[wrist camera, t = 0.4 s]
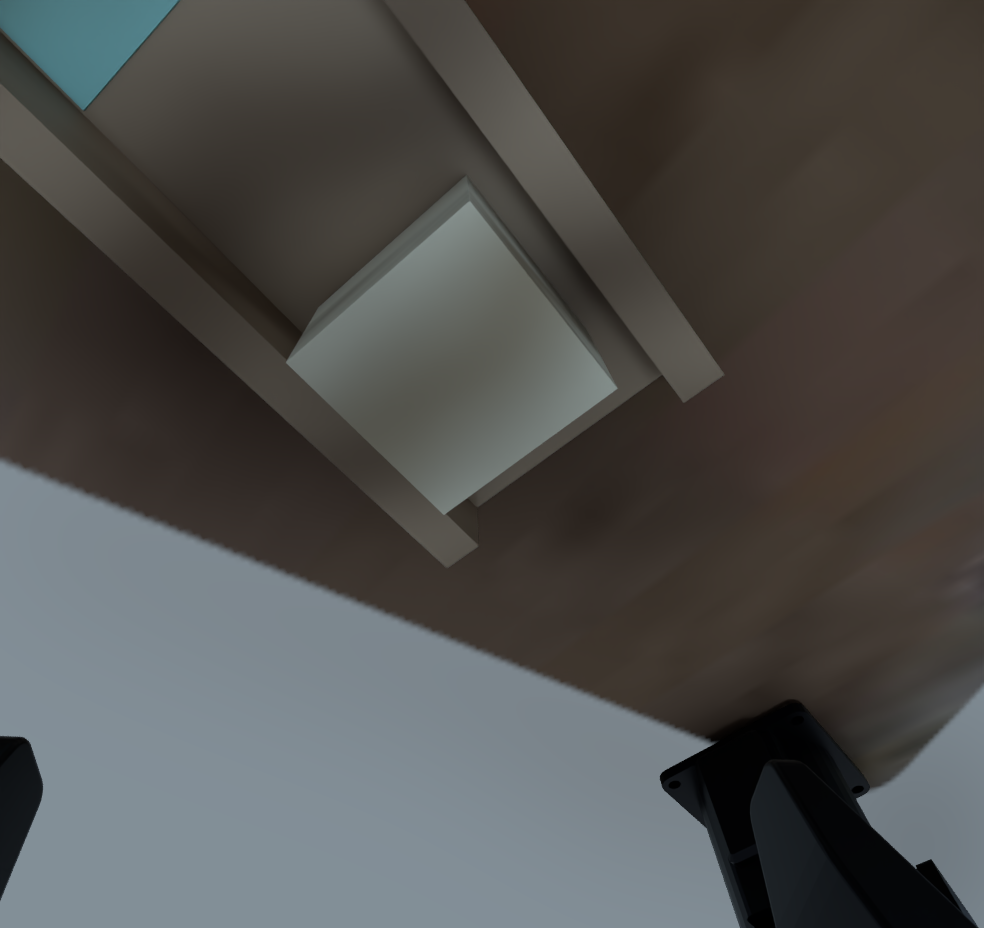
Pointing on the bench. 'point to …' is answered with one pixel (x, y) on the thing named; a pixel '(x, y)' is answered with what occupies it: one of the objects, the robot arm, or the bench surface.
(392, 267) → the block
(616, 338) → the chute
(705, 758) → the robot arm
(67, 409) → the bench surface
